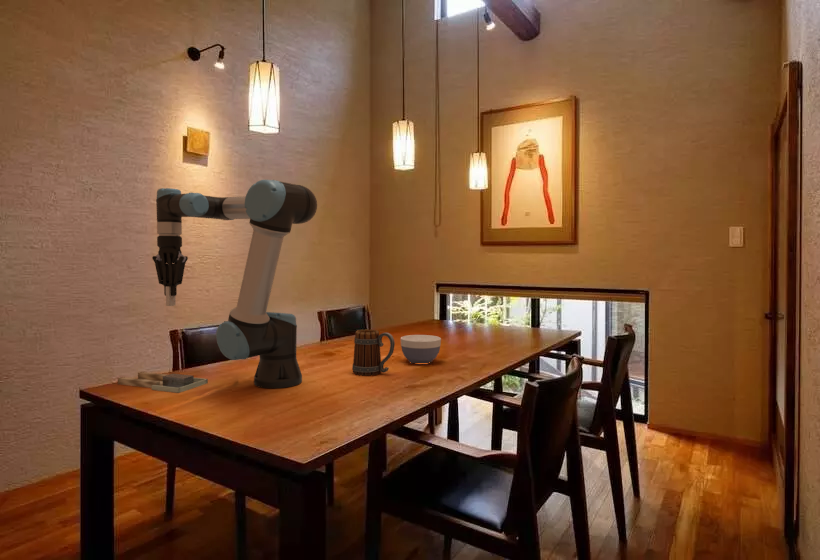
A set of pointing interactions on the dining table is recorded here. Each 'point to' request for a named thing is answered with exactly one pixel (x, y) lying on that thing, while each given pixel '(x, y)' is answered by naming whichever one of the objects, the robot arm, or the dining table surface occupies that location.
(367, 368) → the mug
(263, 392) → the dining table surface
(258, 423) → the dining table surface
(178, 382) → the chip
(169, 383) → the chip
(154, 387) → the grey rectangular frame
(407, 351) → the bowl
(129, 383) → the slot board
